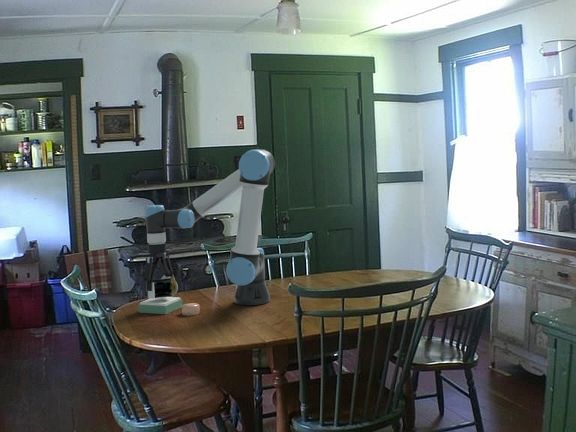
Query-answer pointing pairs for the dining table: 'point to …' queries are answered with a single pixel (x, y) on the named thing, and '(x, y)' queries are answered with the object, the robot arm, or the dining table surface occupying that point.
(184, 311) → the pinkish tan egg
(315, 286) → the dining table surface
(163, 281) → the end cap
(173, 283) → the fruit
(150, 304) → the stand
